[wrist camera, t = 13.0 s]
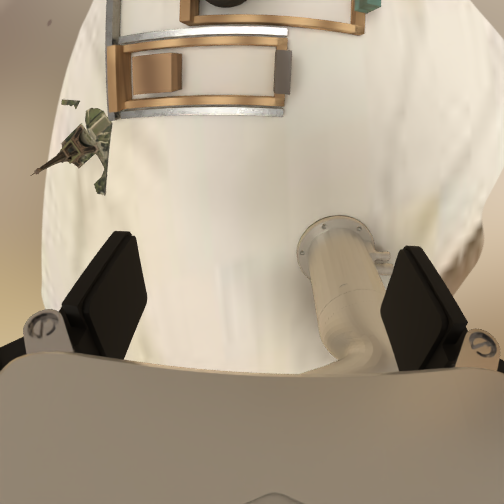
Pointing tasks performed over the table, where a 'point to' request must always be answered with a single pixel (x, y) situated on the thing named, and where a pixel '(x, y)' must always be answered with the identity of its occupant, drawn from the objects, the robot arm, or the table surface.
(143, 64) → the walnut block
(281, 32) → the lane frame
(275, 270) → the table surface
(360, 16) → the brown low piece
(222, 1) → the travel mug
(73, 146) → the eiffel tower figurine
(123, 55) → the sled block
